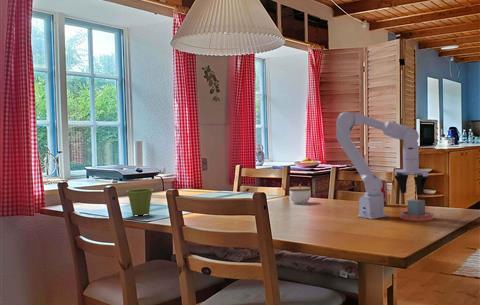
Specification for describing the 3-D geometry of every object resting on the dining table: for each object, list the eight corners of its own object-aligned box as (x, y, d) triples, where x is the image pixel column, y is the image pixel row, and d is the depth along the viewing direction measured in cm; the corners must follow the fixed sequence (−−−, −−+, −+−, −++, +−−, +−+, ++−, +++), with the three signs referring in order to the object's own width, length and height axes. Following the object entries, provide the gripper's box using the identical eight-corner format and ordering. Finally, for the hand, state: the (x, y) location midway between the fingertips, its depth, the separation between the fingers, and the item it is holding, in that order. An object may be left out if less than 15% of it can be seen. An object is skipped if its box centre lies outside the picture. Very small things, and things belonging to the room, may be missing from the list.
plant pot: (136, 212, 215) (135, 188, 215) (158, 213, 211) (158, 188, 211) (121, 217, 204) (120, 191, 204) (145, 217, 200) (144, 191, 200)
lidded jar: (286, 202, 235) (286, 183, 235) (307, 201, 237) (306, 183, 237) (293, 205, 225) (292, 186, 225) (314, 204, 227) (313, 184, 226)
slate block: (417, 217, 177) (417, 201, 177) (407, 215, 181) (407, 200, 181) (425, 215, 180) (424, 200, 180) (415, 214, 184) (415, 199, 183)
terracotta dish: (418, 222, 172) (418, 216, 172) (393, 218, 183) (393, 212, 183) (440, 218, 178) (439, 213, 178) (414, 214, 189) (414, 209, 189)
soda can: (384, 206, 212) (383, 180, 211) (369, 205, 216) (368, 180, 216) (389, 204, 217) (389, 179, 217) (374, 203, 222) (374, 178, 221)
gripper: (433, 159, 177) (433, 194, 178) (403, 158, 190) (403, 191, 190) (420, 160, 174) (421, 196, 174) (390, 158, 187) (391, 192, 187)
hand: (411, 193), depth 182 cm, fingers open, 7 cm apart
